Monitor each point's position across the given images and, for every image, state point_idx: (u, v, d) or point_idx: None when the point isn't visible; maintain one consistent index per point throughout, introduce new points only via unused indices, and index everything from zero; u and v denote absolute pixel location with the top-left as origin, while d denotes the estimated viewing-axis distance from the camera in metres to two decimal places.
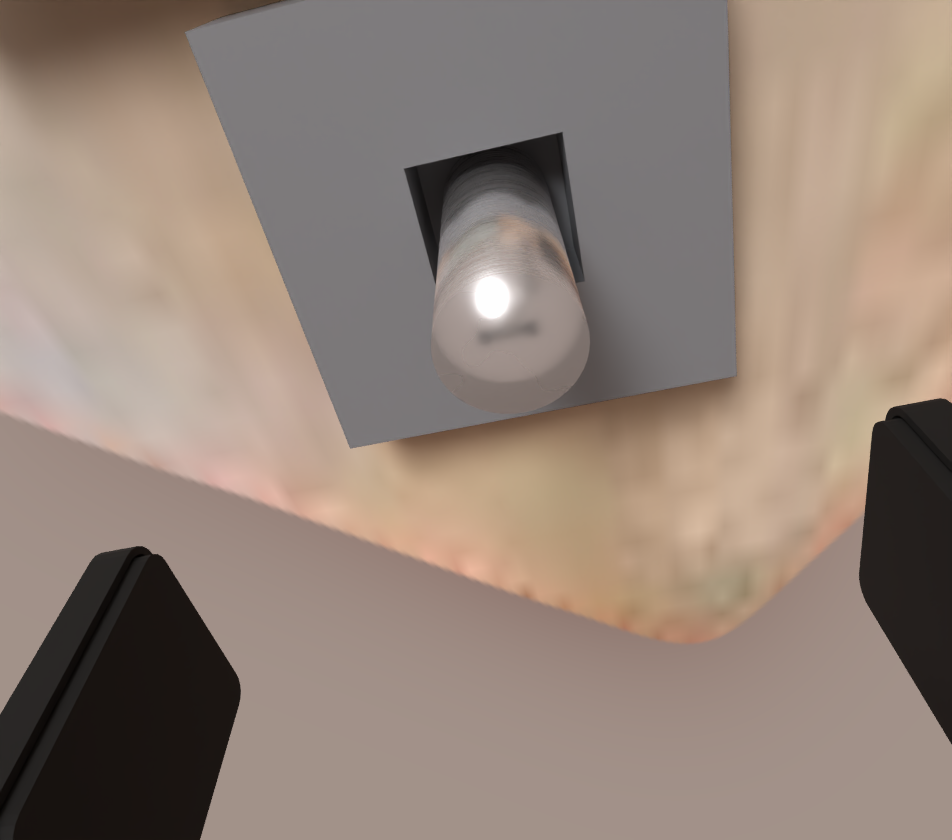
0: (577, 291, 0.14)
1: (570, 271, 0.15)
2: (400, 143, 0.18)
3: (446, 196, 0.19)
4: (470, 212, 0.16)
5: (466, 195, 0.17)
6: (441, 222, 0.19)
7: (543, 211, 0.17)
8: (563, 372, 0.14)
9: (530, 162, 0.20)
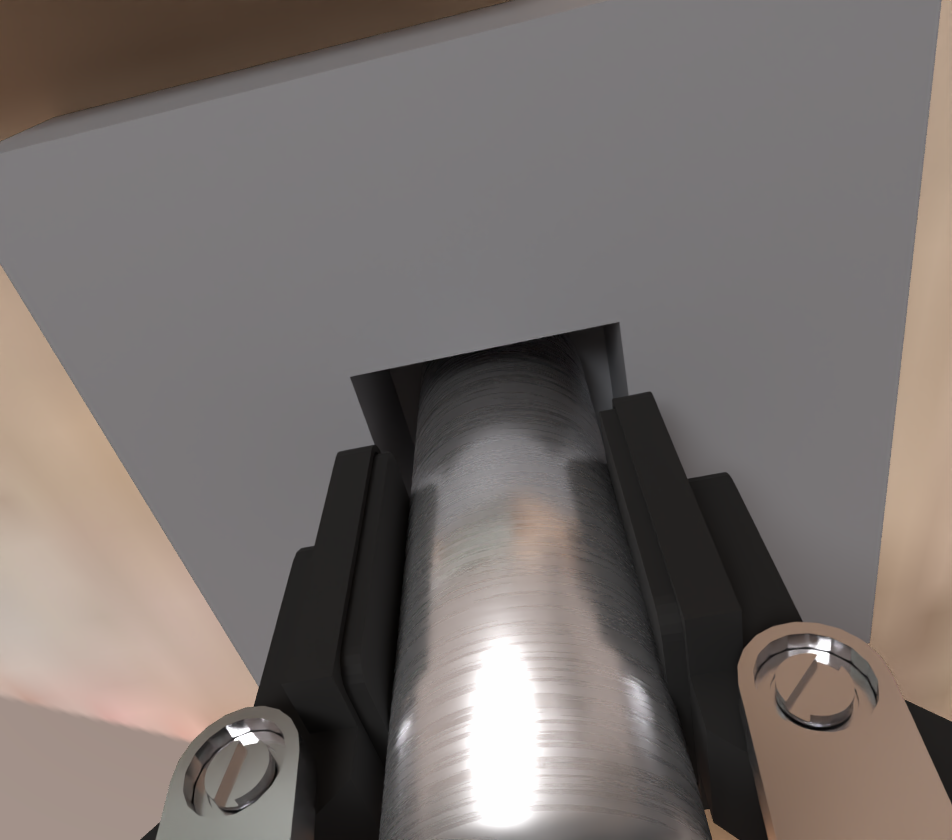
0: (683, 739, 0.07)
1: (661, 669, 0.07)
2: (342, 340, 0.11)
3: (423, 406, 0.12)
4: (460, 503, 0.09)
5: (455, 442, 0.10)
6: (414, 462, 0.11)
7: (593, 486, 0.09)
8: None
9: (558, 340, 0.13)
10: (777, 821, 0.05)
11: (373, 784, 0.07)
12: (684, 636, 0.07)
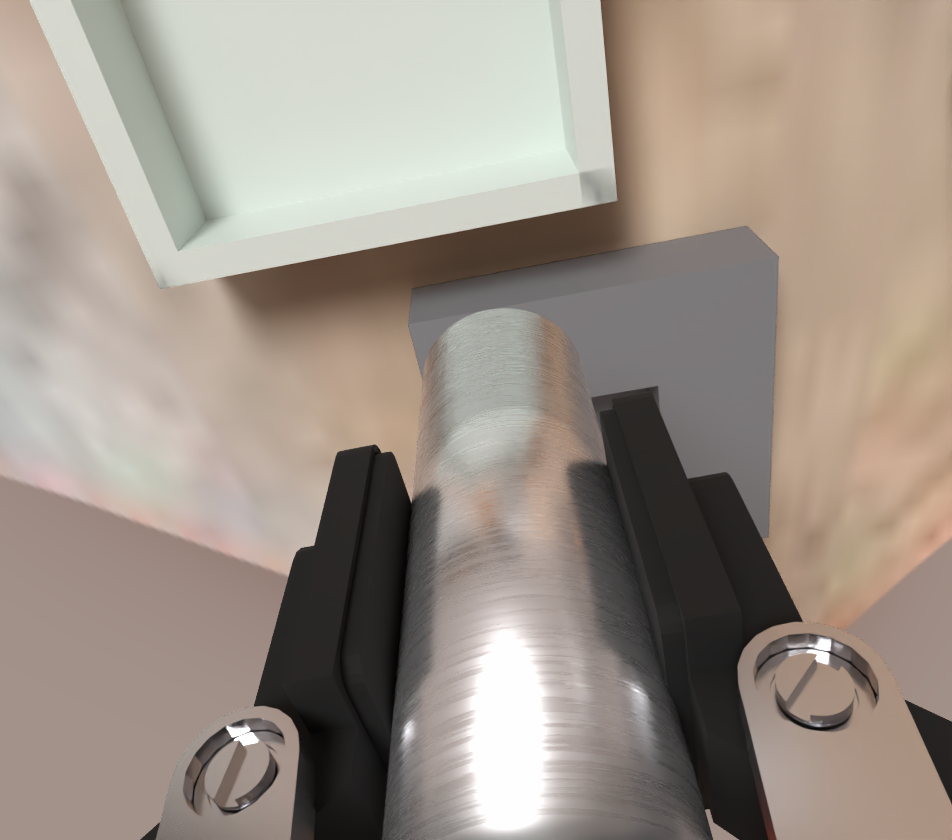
0: (684, 742, 0.07)
1: None
2: None
3: (424, 409, 0.12)
4: (462, 507, 0.09)
5: (456, 446, 0.10)
6: (415, 465, 0.11)
7: (594, 489, 0.09)
8: None
9: (559, 343, 0.13)
10: (777, 822, 0.05)
11: (373, 784, 0.07)
12: (684, 636, 0.07)
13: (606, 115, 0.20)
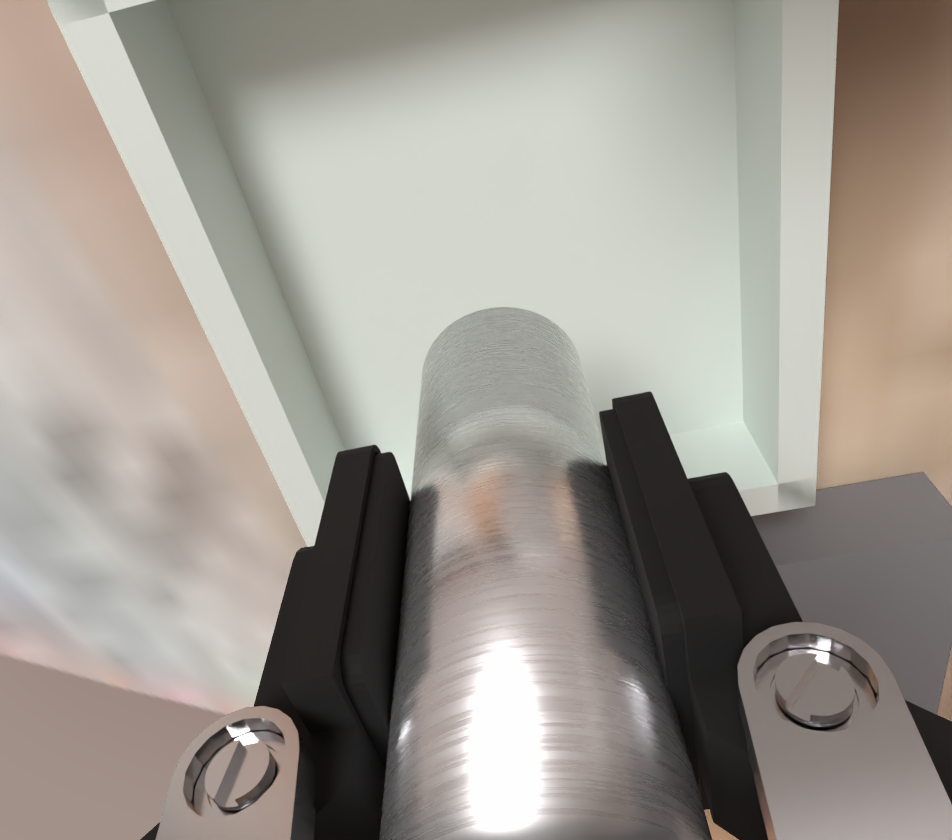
0: (683, 742, 0.07)
1: (662, 672, 0.07)
2: None
3: (423, 408, 0.12)
4: (461, 506, 0.09)
5: (455, 445, 0.10)
6: (414, 464, 0.11)
7: (593, 488, 0.09)
8: None
9: (558, 342, 0.13)
10: (777, 822, 0.05)
11: (373, 784, 0.07)
12: (684, 636, 0.07)
13: (814, 436, 0.19)
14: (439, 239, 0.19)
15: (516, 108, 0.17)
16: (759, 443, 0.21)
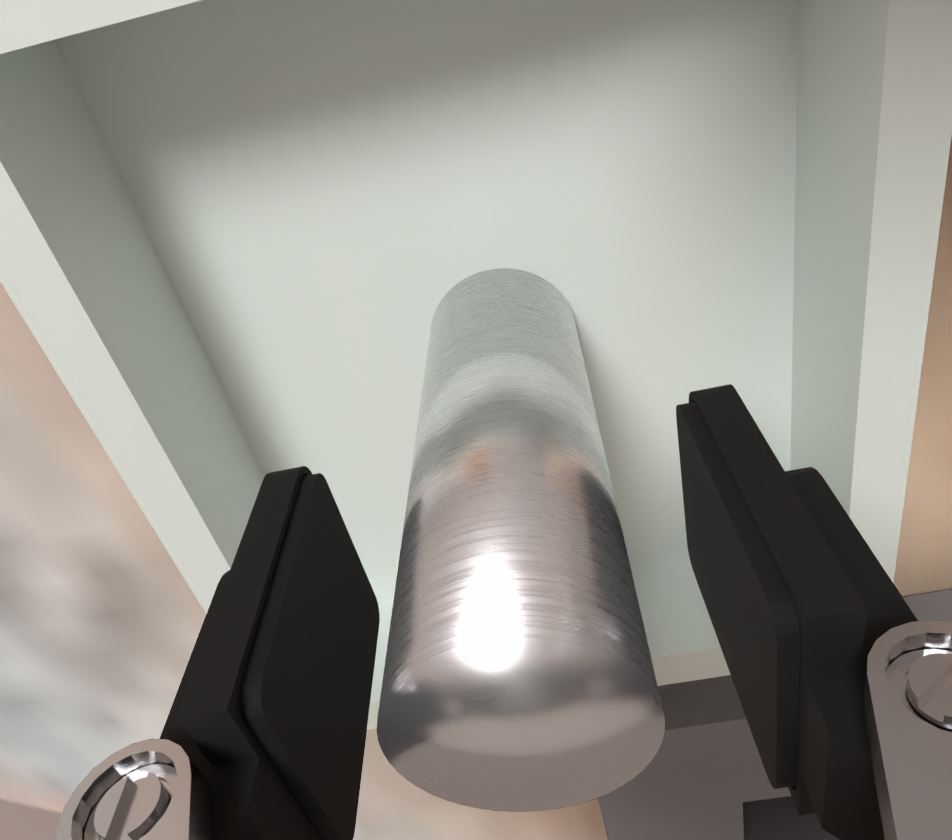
0: (638, 610, 0.08)
1: (624, 558, 0.09)
2: (745, 791, 0.21)
3: (430, 355, 0.13)
4: (459, 425, 0.10)
5: (456, 380, 0.11)
6: (420, 402, 0.12)
7: (575, 415, 0.11)
8: (614, 765, 0.08)
9: (553, 299, 0.14)
10: (937, 832, 0.05)
11: (276, 816, 0.07)
12: (802, 636, 0.06)
13: (889, 577, 0.15)
14: (419, 332, 0.15)
15: (515, 176, 0.13)
16: None
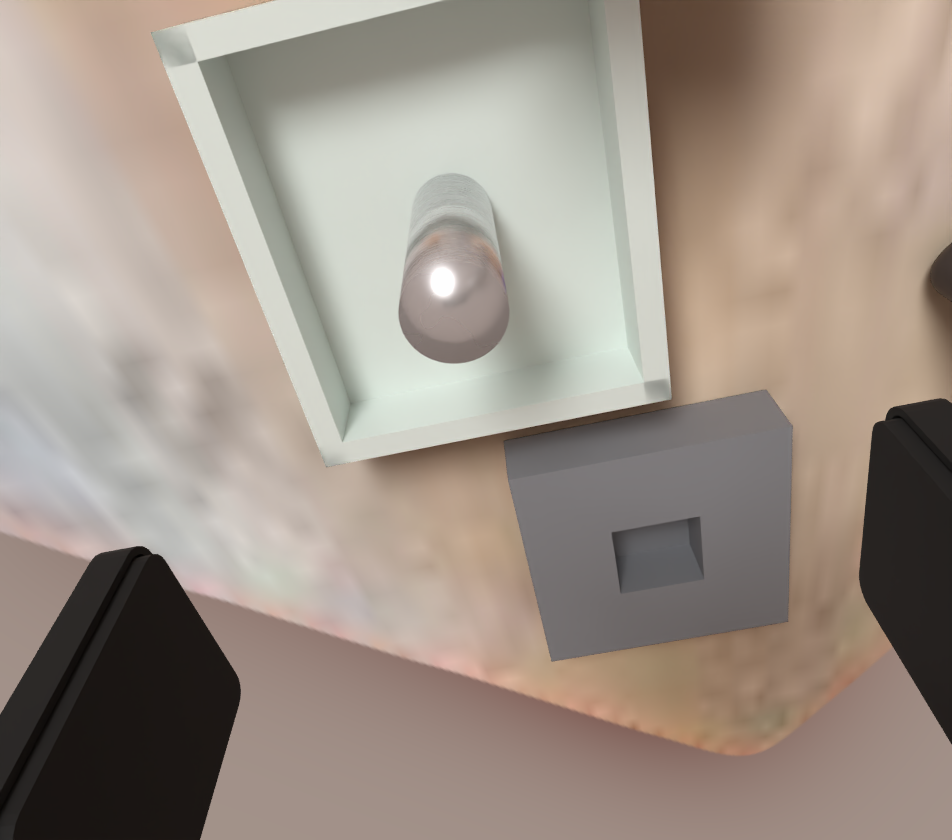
0: (502, 276, 0.21)
1: (498, 263, 0.21)
2: (612, 522, 0.33)
3: (412, 212, 0.25)
4: (428, 223, 0.22)
5: (426, 211, 0.24)
6: None
7: (482, 222, 0.23)
8: (492, 332, 0.20)
9: (477, 187, 0.26)
10: None
11: None
12: None
13: (664, 345, 0.27)
14: (405, 212, 0.27)
15: (455, 122, 0.26)
16: (634, 358, 0.29)
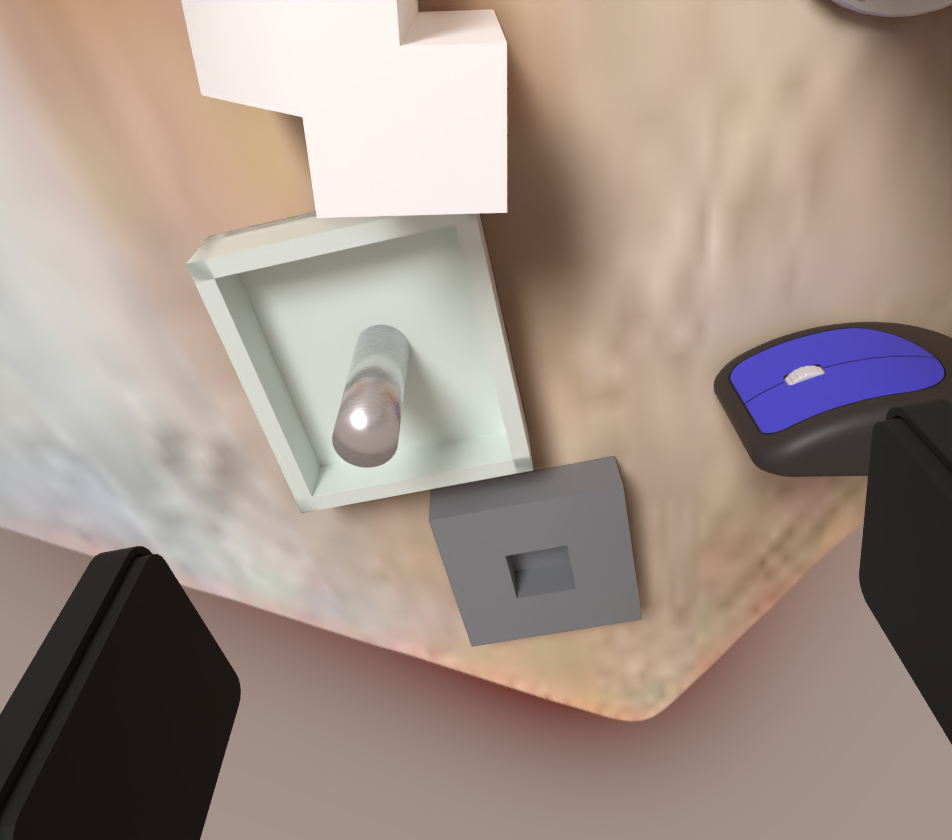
0: (395, 416, 0.34)
1: (395, 405, 0.35)
2: (504, 549, 0.47)
3: (353, 355, 0.39)
4: (356, 375, 0.36)
5: (358, 362, 0.37)
6: None
7: (391, 372, 0.37)
8: (388, 451, 0.34)
9: (396, 335, 0.40)
10: None
11: None
12: None
13: (524, 437, 0.41)
14: (351, 347, 0.41)
15: (381, 294, 0.39)
16: None
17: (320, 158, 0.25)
